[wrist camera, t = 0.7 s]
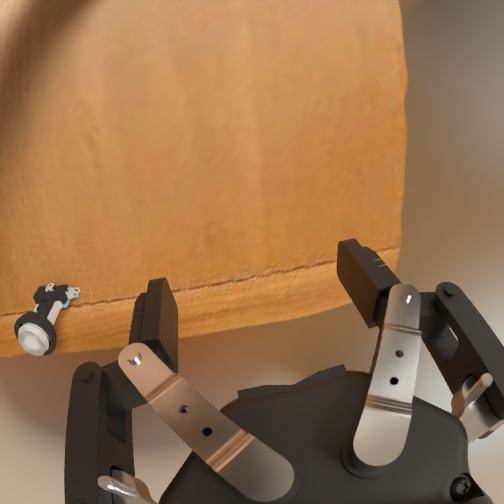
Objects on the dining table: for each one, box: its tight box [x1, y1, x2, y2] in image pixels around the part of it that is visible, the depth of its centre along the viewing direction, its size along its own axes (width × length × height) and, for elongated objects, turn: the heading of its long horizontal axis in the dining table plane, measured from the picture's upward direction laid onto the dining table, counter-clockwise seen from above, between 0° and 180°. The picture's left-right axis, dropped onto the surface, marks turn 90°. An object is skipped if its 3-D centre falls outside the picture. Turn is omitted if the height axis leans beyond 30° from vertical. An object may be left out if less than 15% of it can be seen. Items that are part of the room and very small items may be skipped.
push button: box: [14, 283, 81, 356], centre depth 27 cm, size 7×5×10 cm
